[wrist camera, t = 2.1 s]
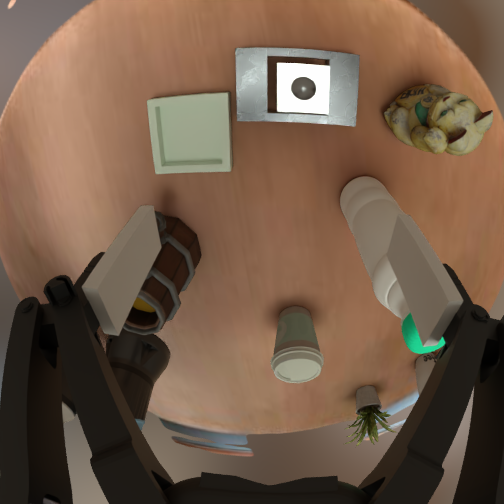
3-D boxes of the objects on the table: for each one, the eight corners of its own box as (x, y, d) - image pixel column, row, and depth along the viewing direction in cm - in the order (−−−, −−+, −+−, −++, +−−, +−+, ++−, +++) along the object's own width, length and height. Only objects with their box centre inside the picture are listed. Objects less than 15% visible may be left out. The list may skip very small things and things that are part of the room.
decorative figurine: (420, 70, 28) (491, 83, 16) (451, 118, 31) (520, 153, 19) (371, 111, 32) (424, 140, 20) (405, 157, 35) (461, 207, 23)
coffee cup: (279, 296, 51) (279, 353, 41) (324, 305, 52) (333, 360, 42) (266, 327, 56) (264, 381, 46) (308, 334, 57) (312, 386, 47)
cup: (444, 351, 60) (456, 383, 52) (422, 369, 65) (432, 400, 56) (426, 346, 59) (438, 380, 51) (403, 365, 63) (413, 399, 55)
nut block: (275, 102, 33) (277, 111, 26) (275, 64, 30) (277, 62, 23) (316, 104, 33) (328, 114, 26) (317, 66, 30) (330, 66, 23)
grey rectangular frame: (239, 118, 34) (237, 121, 32) (237, 49, 29) (235, 48, 27) (350, 122, 34) (355, 126, 32) (354, 55, 29) (359, 55, 27)
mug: (198, 281, 50) (177, 352, 38) (131, 266, 49) (97, 330, 37) (210, 198, 41) (183, 263, 29) (130, 183, 40) (78, 239, 28)
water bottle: (361, 164, 37) (450, 293, 16) (394, 194, 39) (482, 326, 18) (328, 202, 40) (376, 352, 20) (363, 228, 42) (421, 372, 22)
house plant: (324, 395, 71) (329, 450, 58) (364, 371, 64) (374, 431, 51) (358, 405, 75) (364, 453, 62) (395, 383, 68) (406, 435, 55)
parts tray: (160, 168, 39) (155, 174, 37) (153, 98, 33) (146, 100, 31) (232, 166, 38) (230, 171, 36) (230, 91, 32) (227, 92, 31)
